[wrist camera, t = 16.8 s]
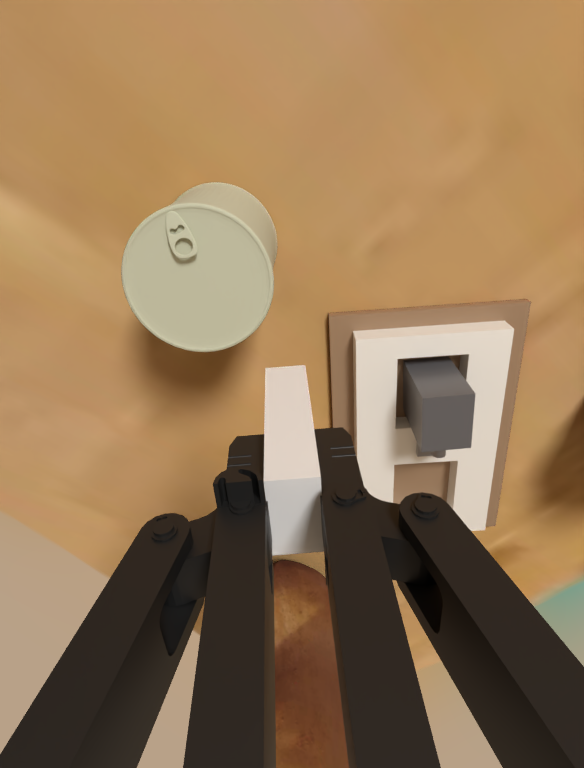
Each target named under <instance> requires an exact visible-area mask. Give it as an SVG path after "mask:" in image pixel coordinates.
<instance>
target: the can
mask: <svg viewBox="0 0 584 768" xmlns="http://www.w3.org/2000/svg"><path fill="white" fill-rule="evenodd" d="M276 254H277V235H276V230H275V227H274V224H273V221H272V219H271V217H270V215H269V213H268V212H267V210H266V209H265V207H264V206H263V205H262V204H261V203H260V201H259V200H258V199H257V198H255V197H254V196H253V195H252V194H250V193H249V192H247V191H245V190H244V189H242V188H240V187H237V186H234V185H231V184H227V183H219V182H217V183H205V184H201V185H198V186H195V187H193V188H191V189H189V190H187V191H186V192H184V193H183V194H182V195H181V196H179V197H178V198H177V199H176V201H175V202H174V203H173V204H171V205H169V206H167V207H165V208H162V209H160V210H158V211H156V212H154V213H153V214H151V215H150V216H149V217H147V218H146V219H145V220H144V221H143V222H142V223H141V224H140V225H139V226H138V227H137V228H136V229H135V231H134V232H133V234H132V235H131V237H130V239H129V241H128V243H127V245H126V248H125V251H124V255H123V259H122V272H121V275H122V284H123V288H124V292H125V296H126V298H127V301H128V303H129V305H130V307H131V309H132V311H133V312H134V314H135V315H136V317H137V318H138V320H139V321H140V322H141V323H142V324H143V325H144V326H145V328H147V329H148V330H149V331H150V332H151V333H152V334H153V335H155V336H156V337H158V338H159V339H161V340H162V341H164V342H166V343H168V344H170V345H172V346H175V347H177V348H181V349H184V350H188V351H194V352H213V351H219V350H224V349H227V348H230V347H232V346H235V345H237V344H238V343H240V342H242V341H243V340H245V339H246V338H248V337H249V336H250V335H251V334H252V333H253V332H254V331H256V329H257V328H258V327H259V326H260V324H261V323H262V322H263V320H264V318H265V317H266V315H267V313H268V311H269V308H270V305H271V302H272V297H273V291H274V276H273V265H274V263H275V259H276Z"/></svg>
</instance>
